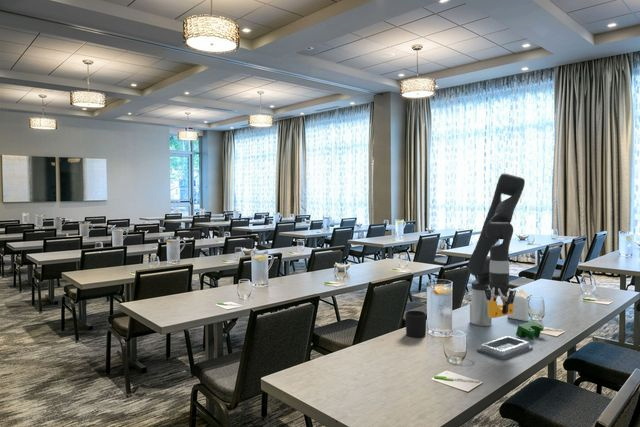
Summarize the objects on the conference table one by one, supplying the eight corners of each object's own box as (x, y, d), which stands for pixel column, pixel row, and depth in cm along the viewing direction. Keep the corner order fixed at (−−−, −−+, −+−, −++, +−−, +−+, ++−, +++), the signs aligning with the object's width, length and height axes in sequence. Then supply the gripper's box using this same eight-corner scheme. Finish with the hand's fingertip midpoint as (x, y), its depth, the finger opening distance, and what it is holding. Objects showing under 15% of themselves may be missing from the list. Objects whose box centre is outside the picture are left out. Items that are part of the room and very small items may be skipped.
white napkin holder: (505, 317, 233) (506, 293, 233) (510, 316, 236) (510, 292, 235) (525, 322, 225) (525, 297, 225) (529, 320, 228) (530, 295, 227)
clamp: (528, 349, 200) (528, 333, 196) (516, 342, 205) (515, 327, 201) (545, 334, 205) (545, 319, 201) (533, 328, 210) (532, 313, 206)
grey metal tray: (477, 351, 186) (477, 344, 186) (506, 341, 197) (506, 334, 197) (503, 360, 176) (503, 352, 176) (532, 349, 187) (532, 342, 187)
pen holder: (430, 334, 209) (430, 313, 208) (419, 339, 202) (419, 317, 201) (412, 330, 215) (412, 309, 215) (401, 335, 208) (401, 313, 208)
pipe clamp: (504, 311, 192) (504, 296, 191) (513, 313, 188) (513, 297, 188) (484, 315, 186) (484, 300, 185) (493, 318, 182) (493, 302, 182)
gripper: (478, 269, 190) (478, 310, 191) (509, 274, 178) (509, 317, 179) (490, 267, 194) (490, 307, 195) (520, 272, 182) (521, 314, 183)
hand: (499, 312), depth 187 cm, fingers closed on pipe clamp, 4 cm apart
